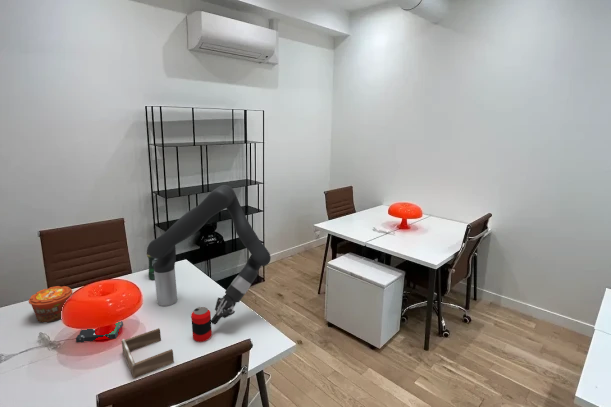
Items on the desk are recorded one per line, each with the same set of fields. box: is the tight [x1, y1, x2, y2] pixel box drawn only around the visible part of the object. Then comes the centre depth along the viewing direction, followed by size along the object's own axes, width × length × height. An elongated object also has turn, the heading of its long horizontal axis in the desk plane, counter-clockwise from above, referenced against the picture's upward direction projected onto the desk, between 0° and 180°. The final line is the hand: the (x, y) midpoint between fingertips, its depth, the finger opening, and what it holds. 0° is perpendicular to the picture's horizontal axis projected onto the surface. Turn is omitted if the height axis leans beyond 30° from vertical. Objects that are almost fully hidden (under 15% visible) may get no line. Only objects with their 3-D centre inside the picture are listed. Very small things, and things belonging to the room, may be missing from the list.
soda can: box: [190, 306, 213, 343], centre depth 143 cm, size 8×8×12 cm
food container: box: [28, 285, 73, 323], centre depth 157 cm, size 16×16×11 cm
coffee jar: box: [146, 246, 157, 281], centre depth 194 cm, size 10×8×19 cm
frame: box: [121, 327, 175, 379], centre depth 131 cm, size 17×14×6 cm
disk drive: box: [75, 320, 124, 343], centre depth 145 cm, size 10×3×15 cm
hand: (212, 323), depth 146 cm, fingers closed
